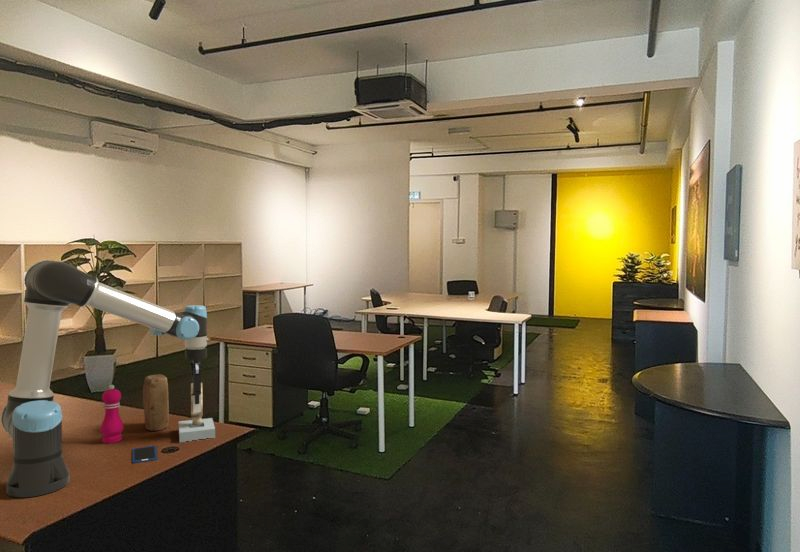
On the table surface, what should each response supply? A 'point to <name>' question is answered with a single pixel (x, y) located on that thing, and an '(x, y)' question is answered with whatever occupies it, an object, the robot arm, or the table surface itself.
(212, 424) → the board
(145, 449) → the cell phone
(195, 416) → the peg
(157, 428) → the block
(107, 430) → the pepper mill
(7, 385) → the table surface
